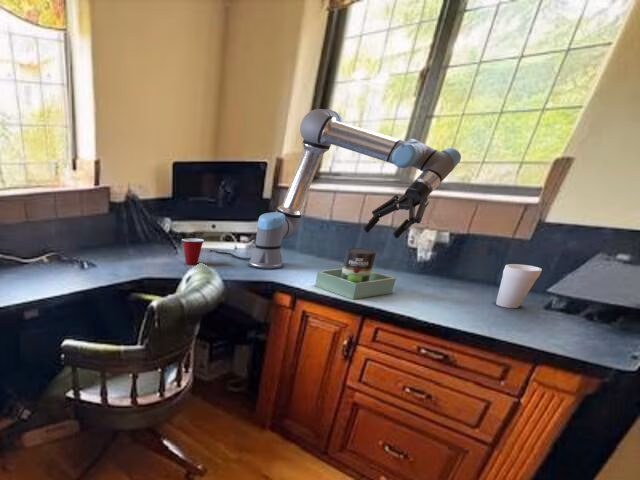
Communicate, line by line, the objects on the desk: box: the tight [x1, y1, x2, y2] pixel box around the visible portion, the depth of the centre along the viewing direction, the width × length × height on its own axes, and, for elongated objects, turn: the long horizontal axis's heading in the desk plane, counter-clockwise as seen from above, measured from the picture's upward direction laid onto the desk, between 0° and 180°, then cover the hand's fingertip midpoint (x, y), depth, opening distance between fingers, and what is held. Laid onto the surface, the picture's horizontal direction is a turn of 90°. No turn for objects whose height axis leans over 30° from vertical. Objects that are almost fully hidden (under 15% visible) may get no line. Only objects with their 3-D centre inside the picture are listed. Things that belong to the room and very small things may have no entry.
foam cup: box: [495, 263, 543, 309], centre depth 143 cm, size 10×9×13 cm
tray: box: [314, 267, 397, 300], centre depth 165 cm, size 20×19×6 cm
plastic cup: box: [181, 237, 205, 266], centre depth 208 cm, size 11×11×12 cm
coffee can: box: [340, 247, 377, 283], centre depth 162 cm, size 10×10×14 cm
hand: (379, 233), depth 160 cm, fingers open, 13 cm apart
